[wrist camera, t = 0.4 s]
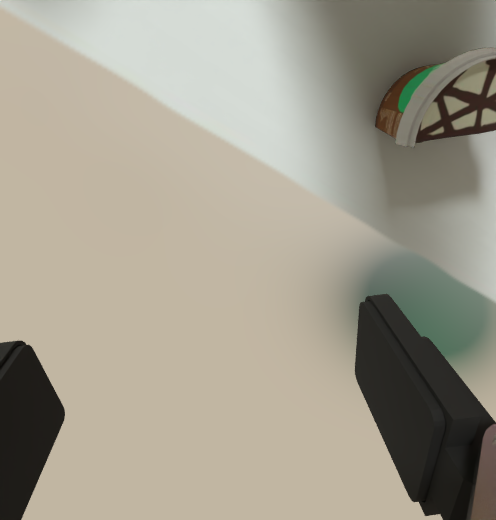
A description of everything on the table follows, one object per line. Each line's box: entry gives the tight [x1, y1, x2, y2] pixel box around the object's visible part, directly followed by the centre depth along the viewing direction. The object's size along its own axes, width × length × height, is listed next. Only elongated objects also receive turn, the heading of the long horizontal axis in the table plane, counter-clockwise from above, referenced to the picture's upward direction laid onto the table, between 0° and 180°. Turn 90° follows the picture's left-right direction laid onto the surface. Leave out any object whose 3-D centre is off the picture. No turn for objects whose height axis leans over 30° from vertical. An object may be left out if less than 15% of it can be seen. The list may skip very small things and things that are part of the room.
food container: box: [375, 48, 496, 148], centre depth 31 cm, size 12×6×10 cm, turn 98°
